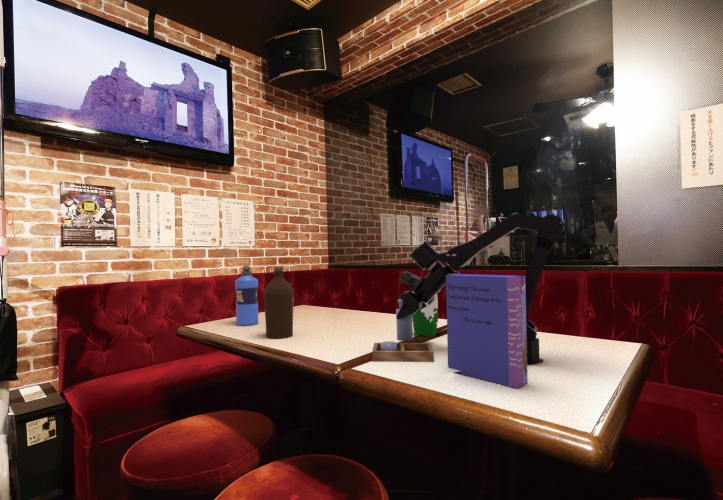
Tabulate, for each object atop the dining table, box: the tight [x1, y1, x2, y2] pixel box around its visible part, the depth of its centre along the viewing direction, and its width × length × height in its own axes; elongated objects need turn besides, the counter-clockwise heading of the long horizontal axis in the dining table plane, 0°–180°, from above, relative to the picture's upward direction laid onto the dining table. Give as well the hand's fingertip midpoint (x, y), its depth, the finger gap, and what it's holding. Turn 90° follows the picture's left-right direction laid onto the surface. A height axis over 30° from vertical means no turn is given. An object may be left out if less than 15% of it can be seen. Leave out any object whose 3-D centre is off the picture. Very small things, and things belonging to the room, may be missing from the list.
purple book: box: [445, 273, 529, 390], centre depth 88 cm, size 17×5×24 cm, turn 43°
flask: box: [395, 298, 414, 342], centre depth 115 cm, size 5×5×12 cm
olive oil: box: [263, 266, 295, 340], centre depth 137 cm, size 11×11×25 cm
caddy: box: [371, 342, 435, 363], centre depth 104 cm, size 16×10×4 cm, turn 85°
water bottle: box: [234, 265, 259, 327], centre depth 162 cm, size 9×9×25 cm
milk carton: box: [411, 290, 439, 338], centre depth 135 cm, size 9×9×20 cm
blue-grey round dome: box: [380, 340, 398, 351], centre depth 104 cm, size 4×4×4 cm
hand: (399, 317), depth 116 cm, fingers closed on flask, 5 cm apart
